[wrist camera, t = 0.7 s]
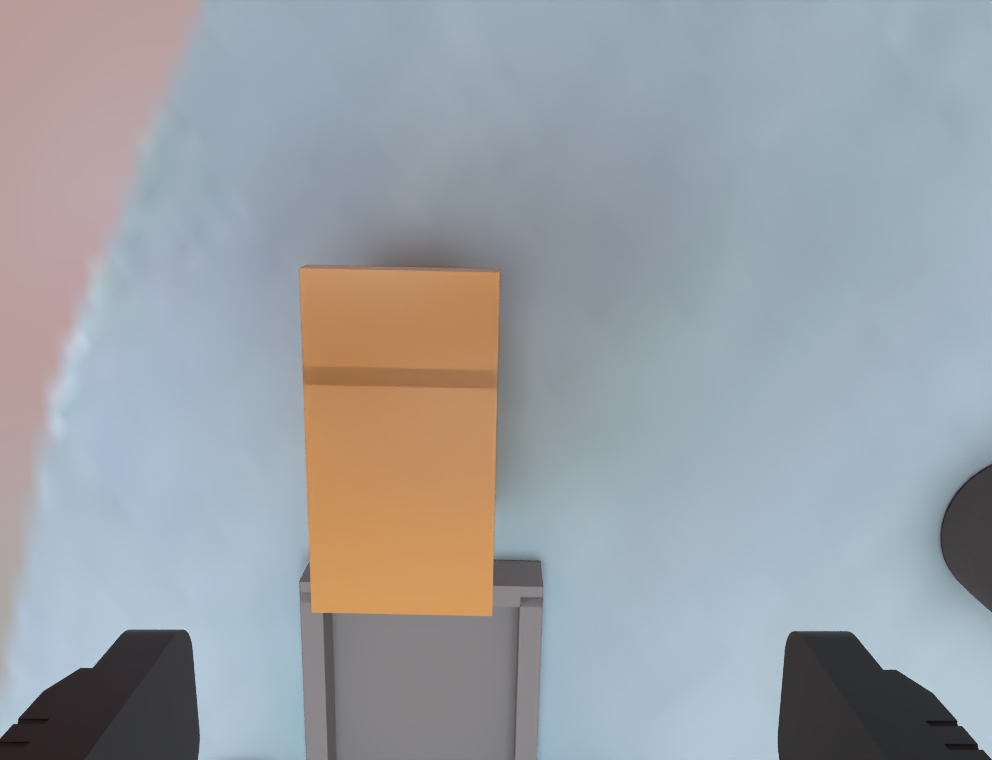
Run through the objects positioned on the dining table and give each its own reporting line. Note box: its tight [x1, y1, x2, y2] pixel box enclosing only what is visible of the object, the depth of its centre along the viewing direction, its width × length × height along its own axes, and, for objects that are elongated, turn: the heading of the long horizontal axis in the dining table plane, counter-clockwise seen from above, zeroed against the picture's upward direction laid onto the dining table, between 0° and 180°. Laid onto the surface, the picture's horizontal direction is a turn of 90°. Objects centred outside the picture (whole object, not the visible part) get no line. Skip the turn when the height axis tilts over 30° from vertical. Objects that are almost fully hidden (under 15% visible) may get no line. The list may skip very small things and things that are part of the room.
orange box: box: [299, 265, 500, 616], centre depth 26 cm, size 10×5×8 cm, turn 179°
